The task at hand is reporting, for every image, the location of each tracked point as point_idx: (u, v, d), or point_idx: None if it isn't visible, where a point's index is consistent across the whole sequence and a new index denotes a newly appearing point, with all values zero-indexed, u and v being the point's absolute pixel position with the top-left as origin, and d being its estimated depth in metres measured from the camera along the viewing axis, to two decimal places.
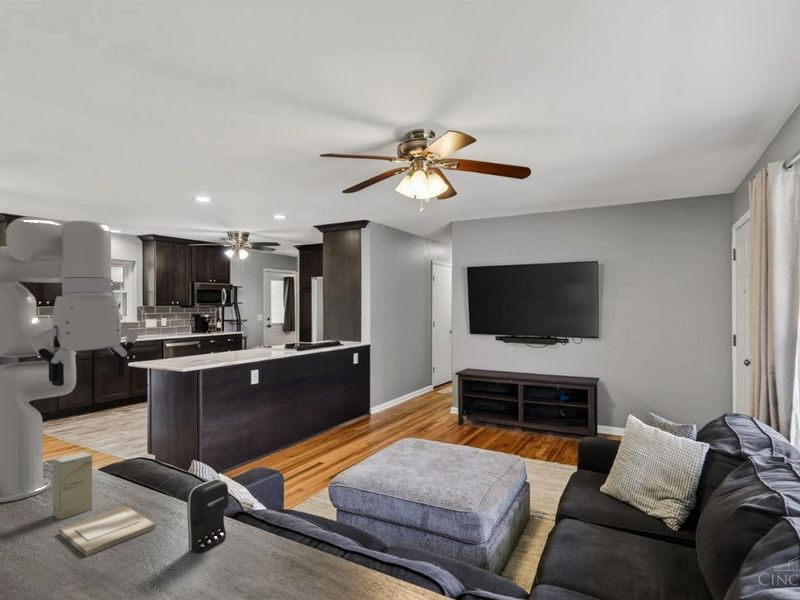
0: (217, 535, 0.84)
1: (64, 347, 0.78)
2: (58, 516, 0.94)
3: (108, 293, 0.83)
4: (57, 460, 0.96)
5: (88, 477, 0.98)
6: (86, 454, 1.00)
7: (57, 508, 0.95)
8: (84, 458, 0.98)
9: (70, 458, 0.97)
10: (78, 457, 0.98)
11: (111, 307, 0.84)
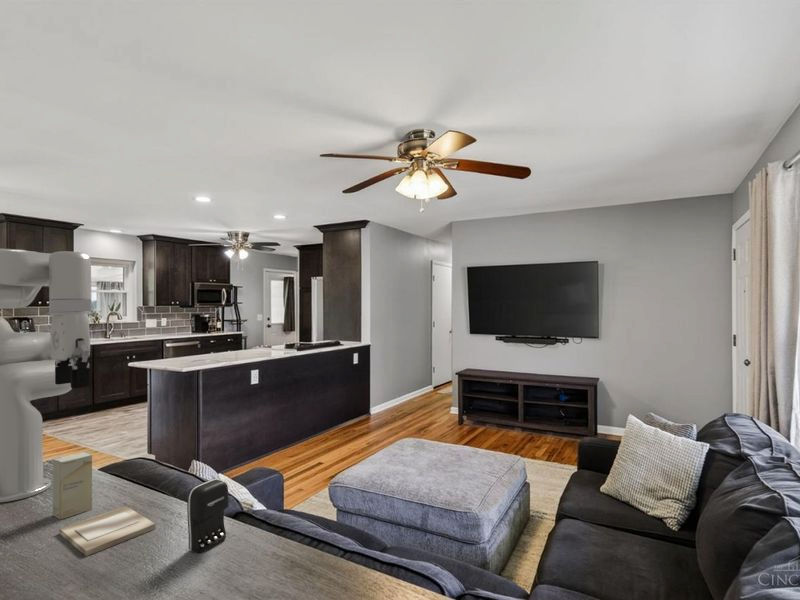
0: (217, 535, 0.84)
1: None
2: (58, 516, 0.94)
3: None
4: (57, 460, 0.96)
5: (88, 477, 0.98)
6: (86, 454, 1.00)
7: (57, 508, 0.95)
8: (84, 458, 0.98)
9: (70, 458, 0.97)
10: (78, 457, 0.98)
11: None
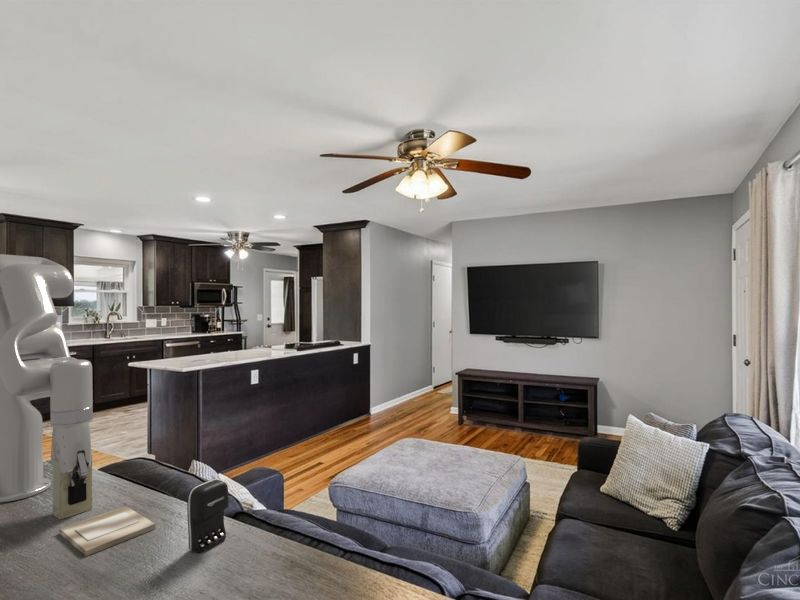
0: (217, 535, 0.84)
1: (90, 465, 0.97)
2: (58, 516, 0.94)
3: None
4: None
5: (88, 477, 0.98)
6: None
7: (57, 508, 0.95)
8: None
9: None
10: None
11: None
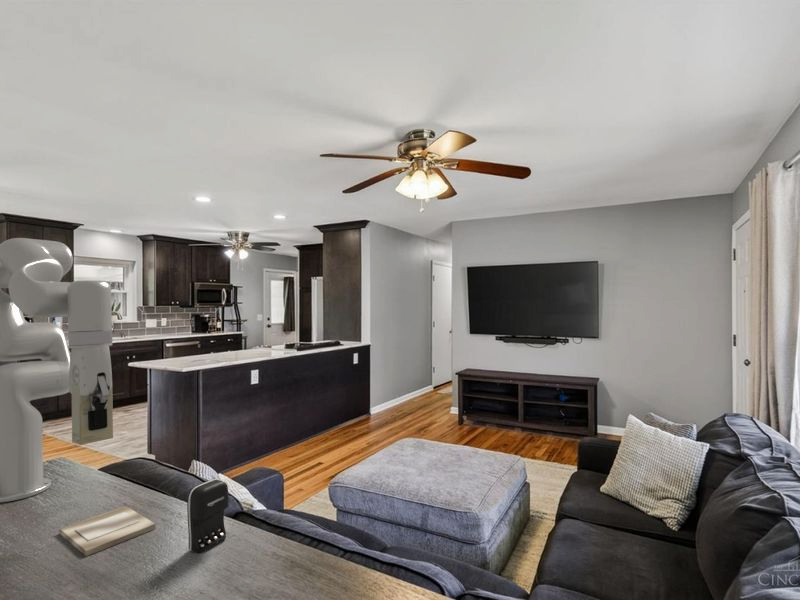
0: (217, 535, 0.84)
1: (110, 389, 0.92)
2: (78, 442, 0.89)
3: None
4: None
5: (108, 404, 0.93)
6: None
7: (77, 434, 0.90)
8: None
9: None
10: None
11: None
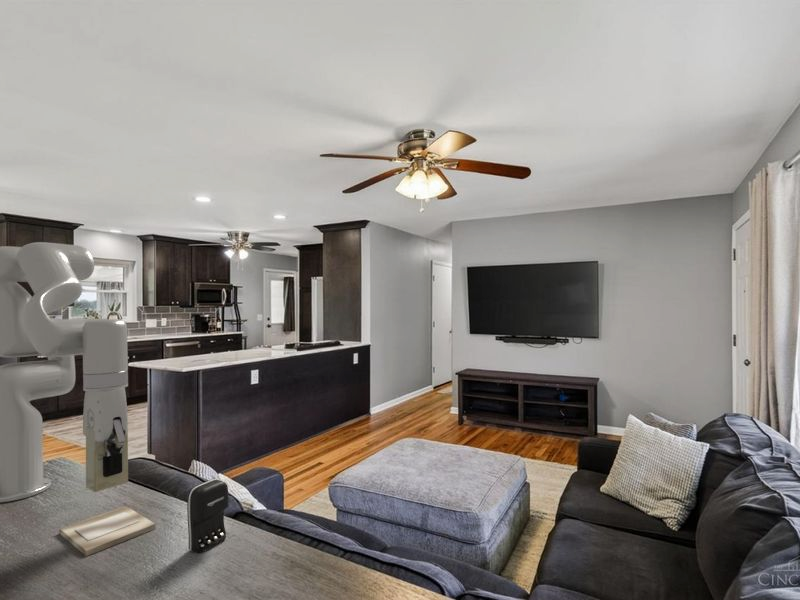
0: (217, 535, 0.84)
1: (126, 433, 0.88)
2: (92, 489, 0.86)
3: None
4: None
5: (124, 447, 0.90)
6: None
7: (91, 480, 0.86)
8: None
9: None
10: None
11: None
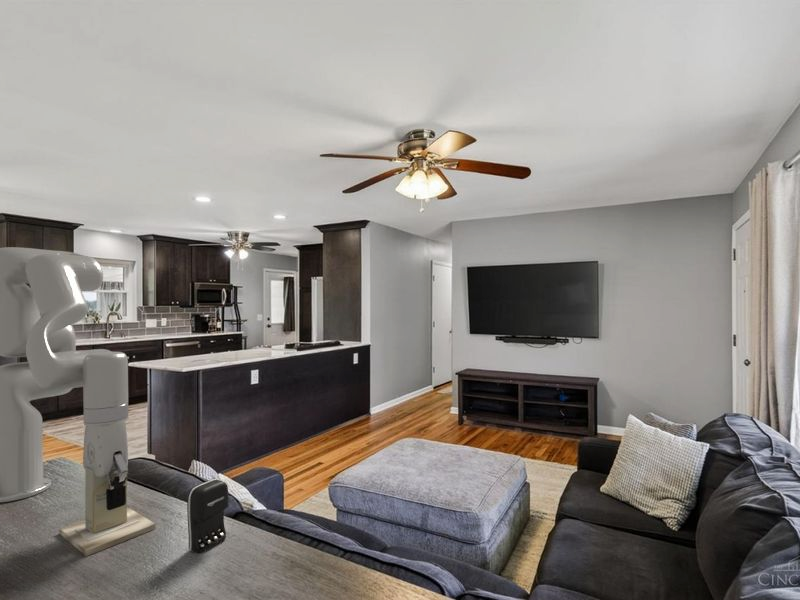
0: (217, 535, 0.84)
1: None
2: (91, 529, 0.86)
3: None
4: None
5: None
6: None
7: (90, 520, 0.86)
8: None
9: None
10: None
11: None
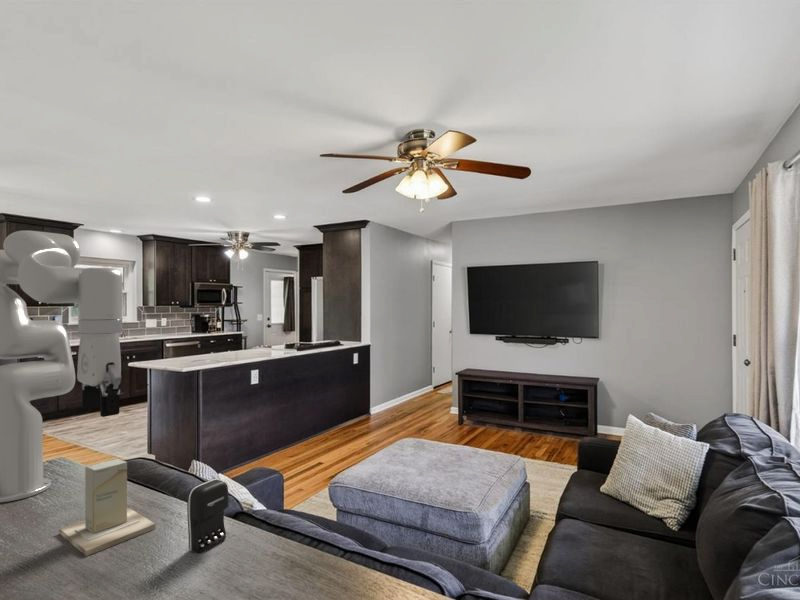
0: (217, 535, 0.84)
1: None
2: (91, 529, 0.86)
3: None
4: (90, 468, 0.87)
5: (123, 486, 0.90)
6: (120, 461, 0.91)
7: (90, 521, 0.86)
8: (118, 466, 0.89)
9: (103, 466, 0.88)
10: (112, 464, 0.89)
11: None
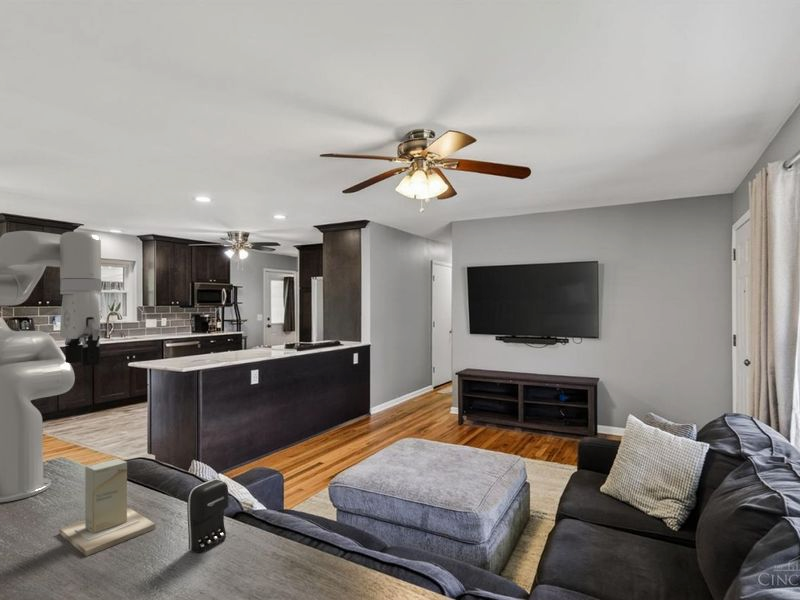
0: (217, 535, 0.84)
1: None
2: (91, 529, 0.86)
3: None
4: (90, 468, 0.87)
5: (123, 486, 0.90)
6: (120, 461, 0.91)
7: (90, 520, 0.86)
8: (118, 466, 0.89)
9: (103, 466, 0.88)
10: (112, 464, 0.89)
11: None
